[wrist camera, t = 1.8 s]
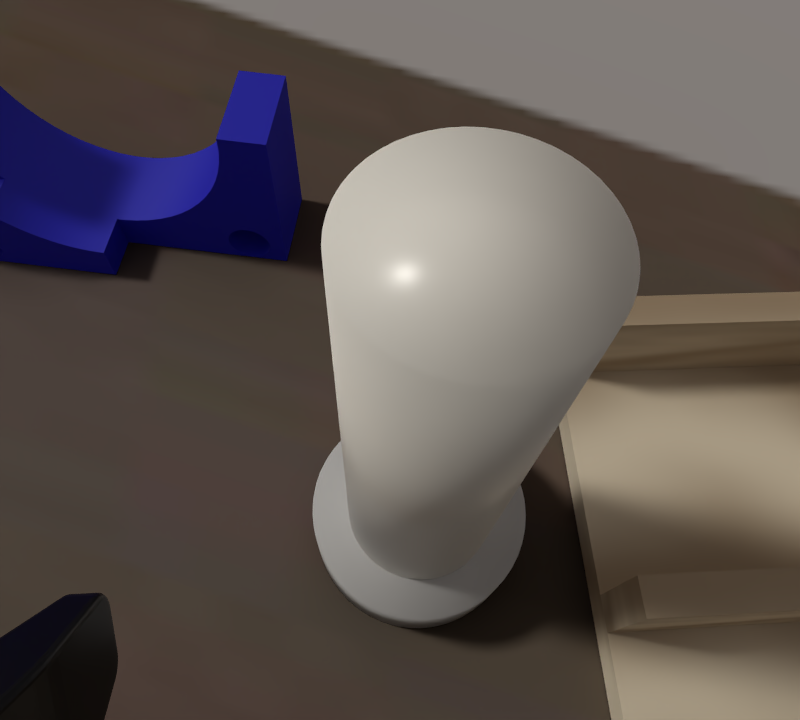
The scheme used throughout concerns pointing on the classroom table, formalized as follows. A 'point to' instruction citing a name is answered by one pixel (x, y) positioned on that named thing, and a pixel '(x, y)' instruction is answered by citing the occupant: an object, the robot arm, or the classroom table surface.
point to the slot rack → (694, 507)
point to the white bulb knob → (456, 356)
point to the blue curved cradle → (150, 188)
